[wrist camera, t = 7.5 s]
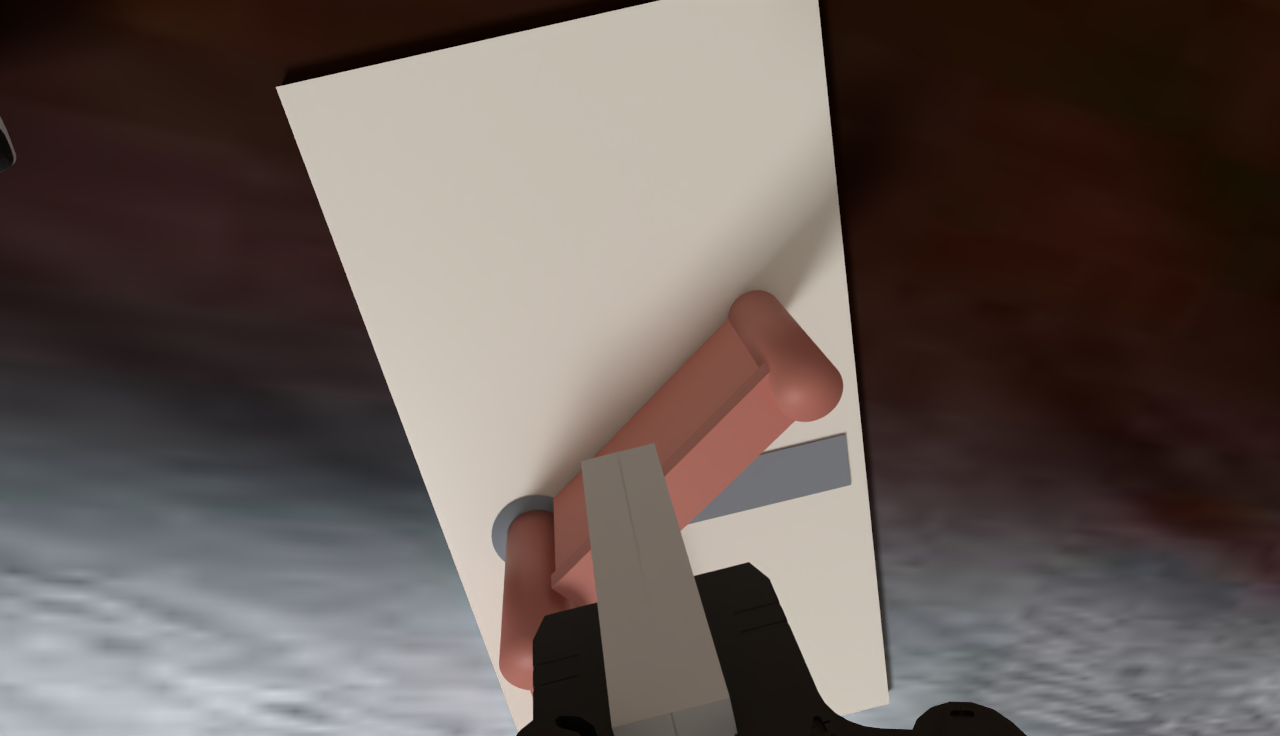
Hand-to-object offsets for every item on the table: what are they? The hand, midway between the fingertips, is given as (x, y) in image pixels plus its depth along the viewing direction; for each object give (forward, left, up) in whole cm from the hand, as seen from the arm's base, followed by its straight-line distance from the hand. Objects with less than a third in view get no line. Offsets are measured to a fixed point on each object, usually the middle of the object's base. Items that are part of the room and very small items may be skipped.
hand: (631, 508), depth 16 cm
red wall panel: (+2, -5, -13) cm, 14 cm away
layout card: (+1, -7, -14) cm, 15 cm away
